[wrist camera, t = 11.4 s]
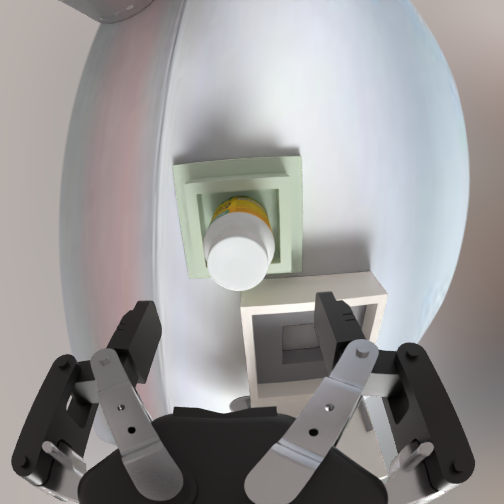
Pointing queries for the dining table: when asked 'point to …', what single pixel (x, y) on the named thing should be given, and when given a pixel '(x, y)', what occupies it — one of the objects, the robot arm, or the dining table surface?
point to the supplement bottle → (239, 243)
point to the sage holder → (242, 183)
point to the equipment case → (308, 360)
